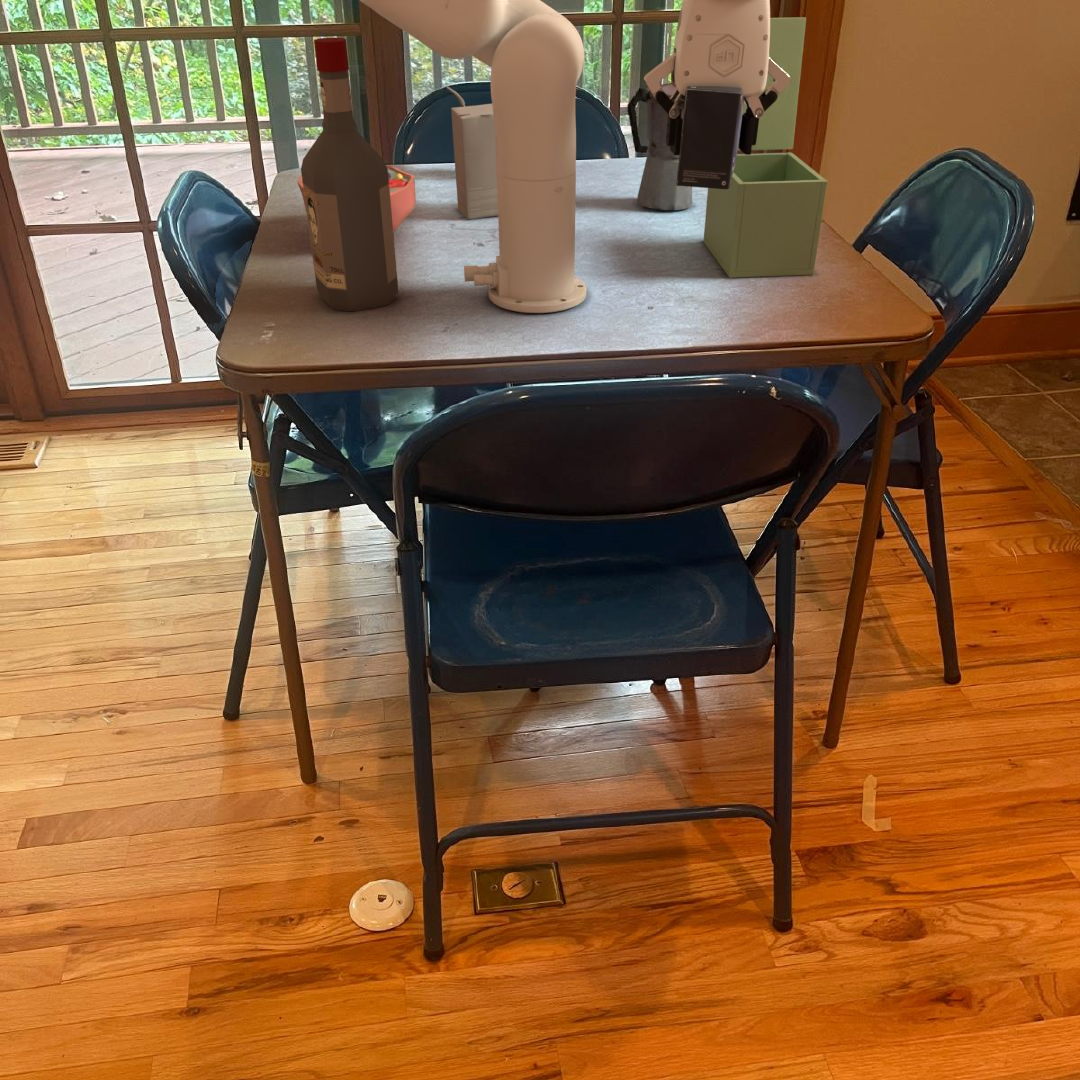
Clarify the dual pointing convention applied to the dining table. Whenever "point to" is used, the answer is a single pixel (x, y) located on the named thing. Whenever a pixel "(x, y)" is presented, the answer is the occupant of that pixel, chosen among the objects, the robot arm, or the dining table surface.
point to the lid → (782, 113)
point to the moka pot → (658, 156)
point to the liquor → (347, 198)
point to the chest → (766, 217)
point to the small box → (709, 136)
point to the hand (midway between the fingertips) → (709, 151)
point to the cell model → (394, 194)
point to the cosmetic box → (475, 160)
